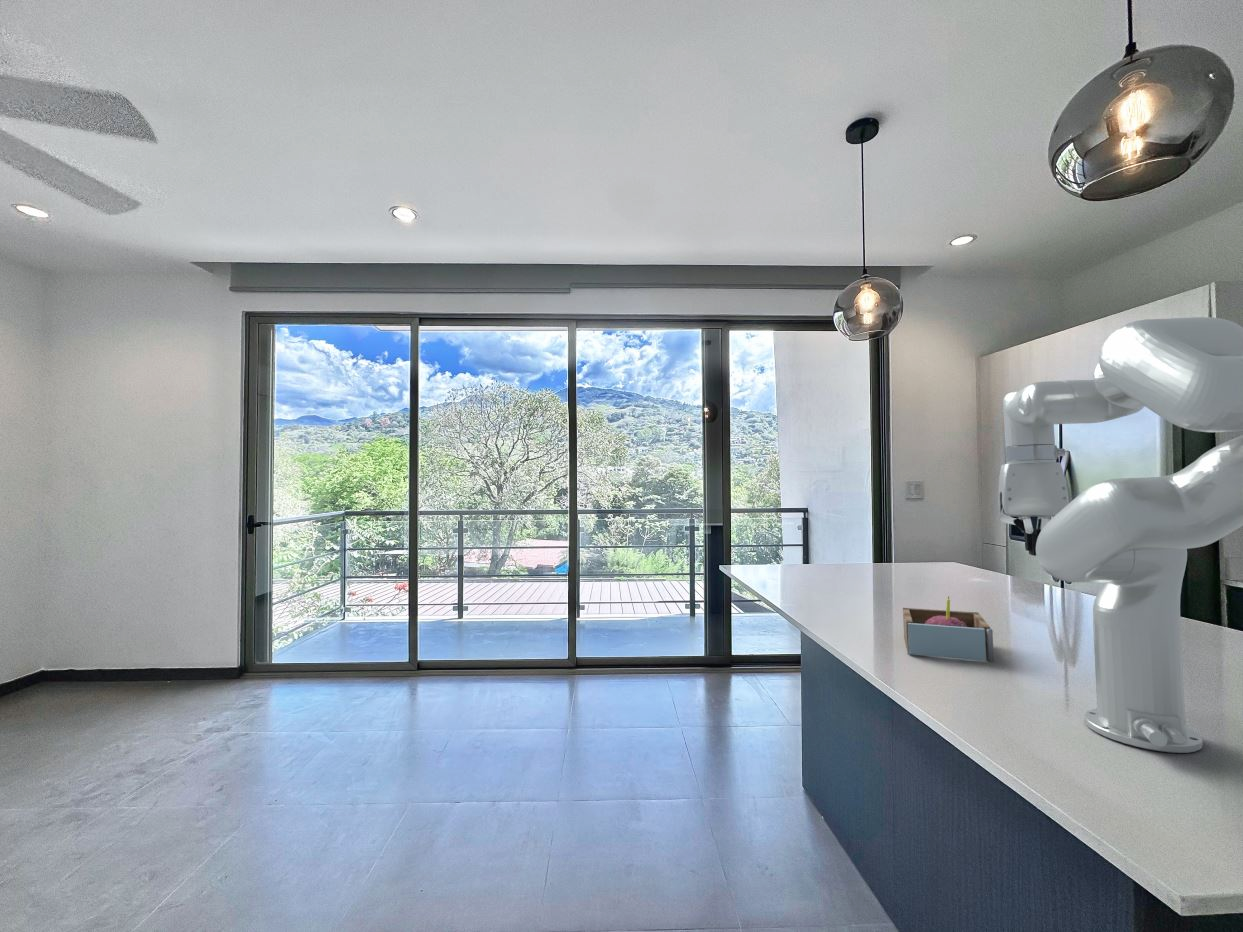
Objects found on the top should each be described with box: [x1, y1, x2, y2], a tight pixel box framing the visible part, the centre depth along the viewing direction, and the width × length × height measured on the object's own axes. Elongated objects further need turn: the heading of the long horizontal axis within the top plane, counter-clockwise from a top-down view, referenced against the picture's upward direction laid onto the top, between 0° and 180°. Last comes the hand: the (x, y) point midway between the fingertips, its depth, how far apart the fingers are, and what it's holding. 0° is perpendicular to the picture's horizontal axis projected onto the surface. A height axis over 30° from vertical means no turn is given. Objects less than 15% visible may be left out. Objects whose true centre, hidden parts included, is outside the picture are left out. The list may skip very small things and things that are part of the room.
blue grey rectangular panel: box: [908, 623, 995, 663], centre depth 116 cm, size 1×15×6 cm, turn 65°
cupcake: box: [924, 595, 967, 627], centre depth 124 cm, size 9×8×12 cm
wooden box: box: [902, 607, 991, 663], centre depth 124 cm, size 14×15×7 cm
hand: (1036, 554), depth 103 cm, fingers closed
